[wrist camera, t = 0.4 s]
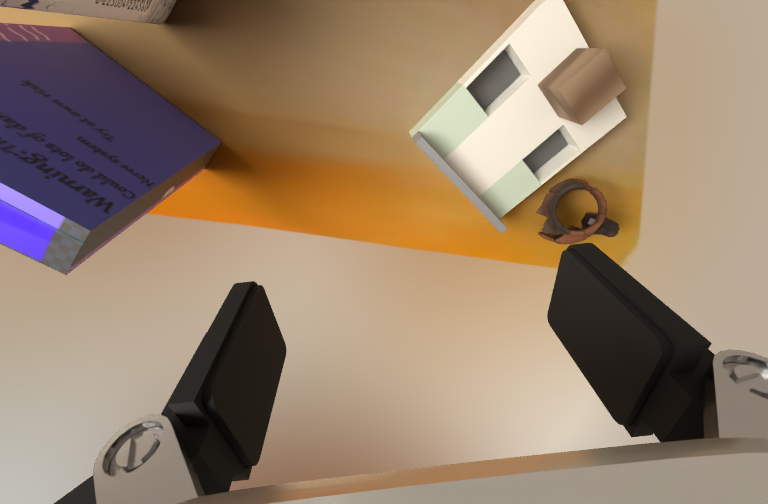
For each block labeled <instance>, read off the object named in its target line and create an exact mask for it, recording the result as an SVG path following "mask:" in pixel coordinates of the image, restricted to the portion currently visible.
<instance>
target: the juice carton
mask: <svg viewBox="0 0 768 504" xmlns="http://www.w3.org/2000/svg"><path fill="white" fill-rule="evenodd" d="M176 1H177V0H0V6H3V7H11V8H20V9H29V10H38V11H46V12H55V13H64V14H73V15H81V16H90V17H99V18H108V19H117V20H125V21H134V22H143V23H152V24H163V23H164V22H165V20H166V19H167V17H168V16H169V14H170V12H171V10H172V8H173V6H174V4H175V2H176Z"/></svg>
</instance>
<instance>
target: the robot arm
mask: <svg viewBox="0 0 768 504" xmlns="http://www.w3.org/2000/svg"><path fill="white" fill-rule="evenodd" d="M548 322H549V324H550V326H551V327H552V329H553V331H554V332H555V333H556V335H557V336H558V338H559V339H560V341H561V342H562V344H563V345H564V347H565V348H566V350H567V351H568V353H569V354H570V356H571V357H572V358H573V360H574V361H575V363H576V364H577V366H578V367H579V369H580V370H581V372H582V373H583V375H584V376H585V378H586V379H587V381H588V382H589V383H590V385H591V386H592V388H593V389H594V391H595V392H596V394H597V395H598V397H599V398H600V400H601V401H602V403H603V404H604V406H605V407H606V408H607V410H608V411H609V413H610V414H611V416H612V417H613V419H614V420H615V421H616V422H617V423H618V424H620V425H623V426H624V427H625V429H626V430H627V431H628V433H629V434H630V436H631V437H638V436H647V435H653V433H654V434H655V436H656V437H657V438H658V439H659V441H660V443H649V444H637V445H628V446H618V447H608V448H599V449H589V450H580V451H570V452H561V453H551V454H542V455H533V456H523V457H514V458H505V459H496V460H486V461H477V462H468V463H459V464H450V465H441V466H432V467H423V468H414V469H406V470H396V471H388V472H380V473H371V474H363V475H355V476H354V475H353V476H345V477H336V478H328V479H320V480H311V481H302V482H294V483H286V484H279V485H271V486H265V487H257V488H249V489H242V490H235V491H229V489H230V486H231V482H232V481H240V480H248V479H249V476H250V473H251V469H252V466H255V465H257V463H258V461H259V459H260V455H261V451H262V447H263V443H264V439H265V435H266V432H267V427H268V424H269V420H270V415H271V412H272V408H273V404H274V400H275V396H276V392H277V388H278V384H279V380H280V376H281V372H282V368H283V364H284V360H285V357H286V345H285V342H284V339H283V337H282V334H281V332H280V329H279V326H278V324H277V321H276V319H275V316H274V313H273V311H272V308H271V306H270V303H269V300H268V298H267V295H266V293H265V290H264V288H263V286H261V285H257V283H255V282H254V281H253V282H244V283H236V284H234V285H233V287H232V289H231V290H230V292H229V294H228V296H227V298H226V299H225V301H224V303H223V305H222V307H221V308H220V310H219V312H218V314H217V316H216V317H215V320H214V321H213V323H212V325H211V326H210V328H209V330H208V332H207V333H206V334H205V336H204V338H203V340H202V341H201V343H200V345H199V347H198V349H197V350H196V352H195V354H194V356H193V358H192V359H191V361H190V363H189V365H188V367H187V368H186V370H185V372H184V374H183V376H182V377H181V379H180V381H179V383H178V385H177V386H176V388H175V390H174V392H173V394H172V395H171V397H170V399H169V401H168V403H167V404H166V406H165V408H164V410H163V412H162V413H161V415H160V414H158V415H148V416H145V417H141V418H139V419H137V420H135V421H133V422H131V423H129V424H128V425H127V426H125V427H124V428H122V429H121V430H119V431H118V432H117V433H116V434H115V435H114V436H113V437H112V438H111V439H110V440H109V441H108V442H107V443H106V445H105V446H104V447H103V449H102V450H101V451H100V453H99V455H98V457H97V459H96V461H95V464H94V470H93V476H91V477H90V478H89V479H87V480H86V481H84V482H83V483H82V484H80V485H79V486H78V487H76V488H75V489H73V490H72V491H71V492H69V493H68V494H66V495H65V496H64V497H62V498H61V499H60V500H58V501H57V502H56V503H54V504H768V358H765V357H762V356H760V355H757V354H754V353H750V352H745V351H740V350H726V351H720V352H719V353H717V354H716V355H714V354H713V353H712V352H711V351H710V350H709V349H708V348H709V346H710V345H711V342H709V341H708V340H707V339H706V338H705V337H703V336H702V335H701V334H700V333H698V332H697V331H696V330H695V329H694V328H693V327H691V326H690V325H689V324H688V323H687V322H685V321H684V320H683V319H682V318H681V317H680V316H678V315H677V314H676V313H675V312H674V311H672V310H671V309H670V308H669V307H668V306H666V305H665V304H664V303H663V302H662V301H660V300H659V299H658V298H657V297H656V296H655V295H653V294H652V293H651V292H650V291H649V290H647V289H646V288H645V287H644V286H643V285H641V284H640V283H639V282H638V281H637V280H635V279H634V278H633V277H632V276H631V275H629V274H628V273H627V272H626V271H625V270H624V269H622V268H621V267H620V266H619V265H618V264H616V263H615V262H614V261H613V260H612V259H611V258H609V257H608V256H607V255H606V254H605V253H603V252H602V251H601V250H600V249H599V248H597V247H596V246H595V245H594V244H592V243H583V244H574V245H570V246H569V247H568V248H567V250H565V251H563V252H562V255H561V259H560V263H559V267H558V272H557V276H556V281H555V285H554V289H553V293H552V298H551V302H550V306H549V310H548Z"/></svg>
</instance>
